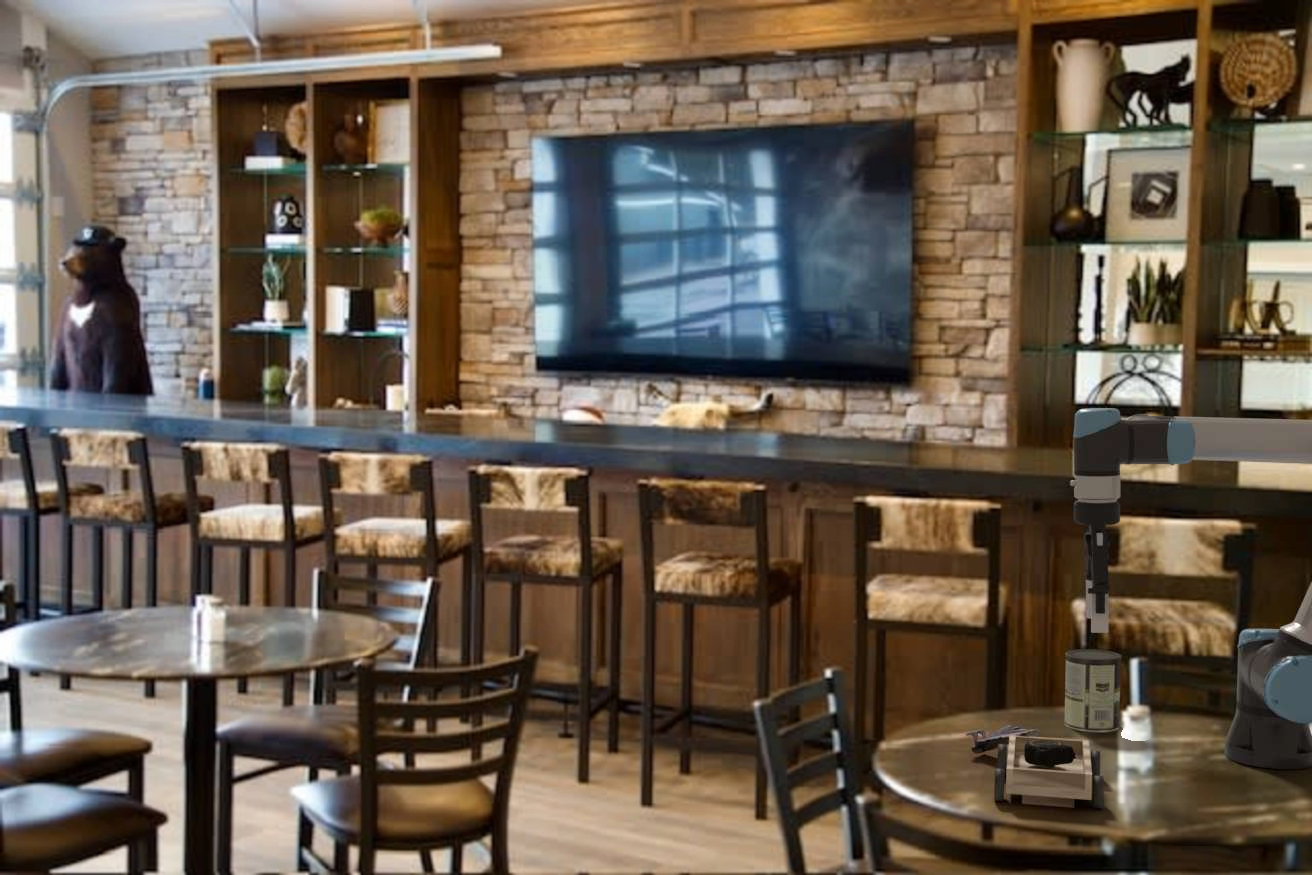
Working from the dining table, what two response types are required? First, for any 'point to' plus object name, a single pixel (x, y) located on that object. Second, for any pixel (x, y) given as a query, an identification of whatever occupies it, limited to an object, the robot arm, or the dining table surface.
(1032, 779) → the cart
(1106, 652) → the coffee can
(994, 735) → the toy race car
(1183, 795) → the dining table surface
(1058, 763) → the tape measure
